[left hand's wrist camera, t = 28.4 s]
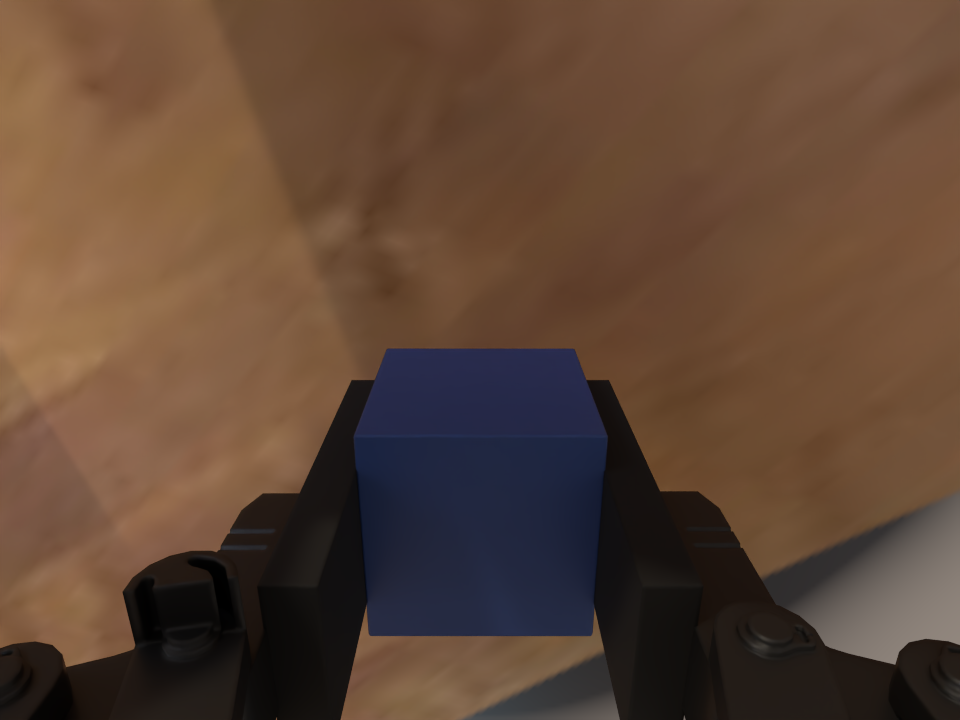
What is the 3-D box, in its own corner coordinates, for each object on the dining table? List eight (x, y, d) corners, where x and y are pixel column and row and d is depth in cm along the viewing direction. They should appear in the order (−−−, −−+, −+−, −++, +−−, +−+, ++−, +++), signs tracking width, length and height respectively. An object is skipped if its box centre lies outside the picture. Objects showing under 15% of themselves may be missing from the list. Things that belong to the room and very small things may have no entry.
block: (394, 509, 16) (368, 637, 12) (386, 347, 14) (352, 435, 11) (566, 509, 16) (592, 637, 12) (574, 347, 14) (608, 435, 11)
